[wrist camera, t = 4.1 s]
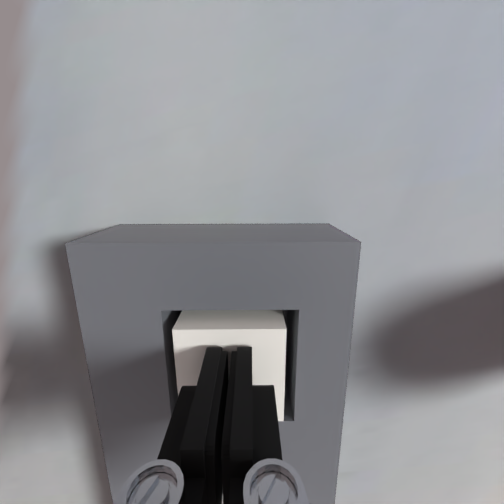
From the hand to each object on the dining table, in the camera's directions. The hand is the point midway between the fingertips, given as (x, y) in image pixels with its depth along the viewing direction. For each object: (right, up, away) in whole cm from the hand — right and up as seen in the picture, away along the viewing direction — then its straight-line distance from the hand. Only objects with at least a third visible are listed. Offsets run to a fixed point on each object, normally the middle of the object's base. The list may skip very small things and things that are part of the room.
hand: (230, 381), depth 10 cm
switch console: (0, -7, +7) cm, 10 cm away
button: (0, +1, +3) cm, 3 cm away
